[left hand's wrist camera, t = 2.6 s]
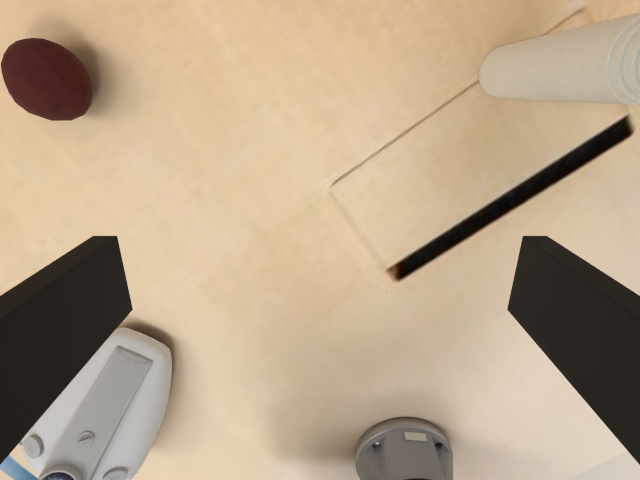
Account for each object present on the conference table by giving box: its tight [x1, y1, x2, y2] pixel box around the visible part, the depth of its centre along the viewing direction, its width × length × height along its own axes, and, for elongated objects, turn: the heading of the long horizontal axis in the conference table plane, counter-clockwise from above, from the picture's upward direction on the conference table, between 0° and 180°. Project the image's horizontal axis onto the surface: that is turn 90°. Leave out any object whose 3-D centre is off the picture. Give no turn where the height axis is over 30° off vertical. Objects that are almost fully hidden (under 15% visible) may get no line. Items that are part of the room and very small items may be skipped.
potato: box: [1, 38, 92, 120], centre depth 38 cm, size 7×8×7 cm
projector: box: [23, 327, 172, 480], centre depth 50 cm, size 22×23×15 cm
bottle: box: [479, 13, 640, 105], centre depth 29 cm, size 5×5×25 cm
